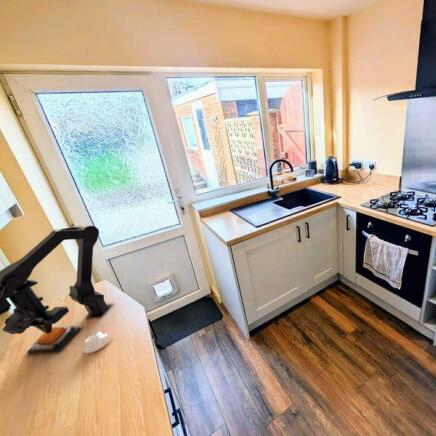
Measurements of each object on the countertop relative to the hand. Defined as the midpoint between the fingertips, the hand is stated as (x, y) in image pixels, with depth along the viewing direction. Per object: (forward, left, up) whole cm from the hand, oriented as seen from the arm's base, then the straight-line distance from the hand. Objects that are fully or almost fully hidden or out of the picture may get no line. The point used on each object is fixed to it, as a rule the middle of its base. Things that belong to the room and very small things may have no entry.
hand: (49, 332), depth 92 cm
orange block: (0, 0, -4) cm, 4 cm away
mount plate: (0, 0, -4) cm, 5 cm away
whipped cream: (-19, +3, -5) cm, 20 cm away
